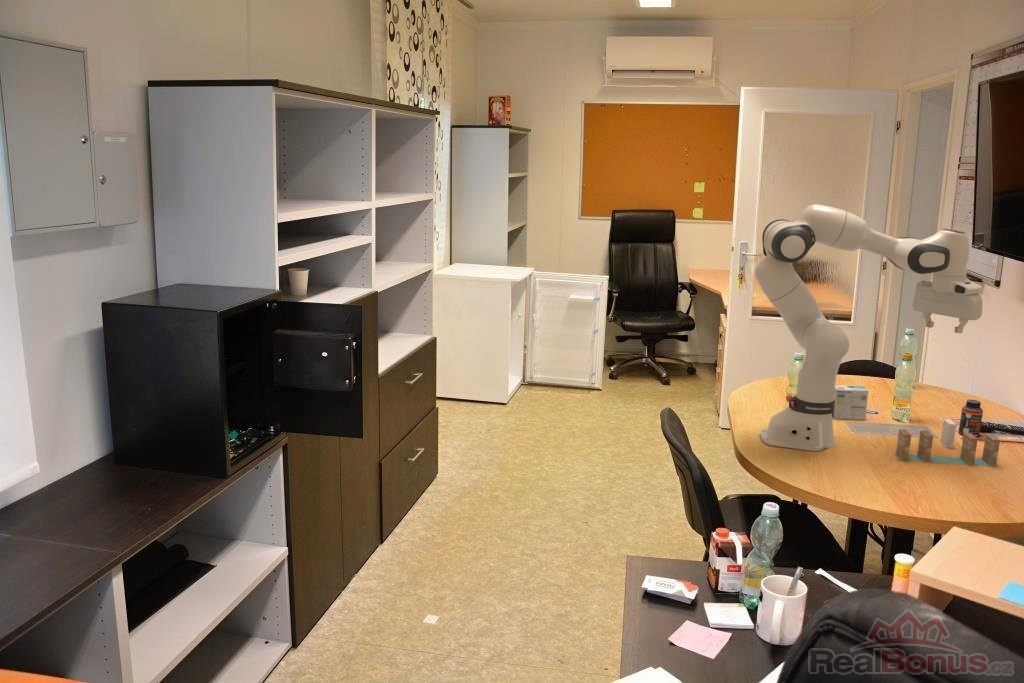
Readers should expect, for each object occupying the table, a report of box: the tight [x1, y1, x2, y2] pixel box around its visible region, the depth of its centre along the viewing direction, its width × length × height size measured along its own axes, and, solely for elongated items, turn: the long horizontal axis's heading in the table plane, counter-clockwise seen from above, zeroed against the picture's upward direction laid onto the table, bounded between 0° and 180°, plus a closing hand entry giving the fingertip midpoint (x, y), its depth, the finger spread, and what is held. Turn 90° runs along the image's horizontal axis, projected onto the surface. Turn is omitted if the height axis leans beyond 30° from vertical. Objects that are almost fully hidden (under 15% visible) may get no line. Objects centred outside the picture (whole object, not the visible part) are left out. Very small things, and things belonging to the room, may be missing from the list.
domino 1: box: [895, 428, 912, 462], centre depth 240 cm, size 2×5×8 cm, turn 170°
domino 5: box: [981, 433, 1001, 467], centre depth 236 cm, size 2×5×8 cm, turn 170°
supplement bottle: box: [958, 398, 984, 436], centre depth 261 cm, size 6×6×11 cm
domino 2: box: [916, 429, 934, 463], centre depth 239 cm, size 2×5×8 cm, turn 171°
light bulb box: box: [833, 384, 869, 421], centre depth 278 cm, size 11×7×11 cm, turn 84°
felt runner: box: [893, 452, 999, 468], centre depth 239 cm, size 27×6×1 cm, turn 80°
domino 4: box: [959, 433, 979, 466], centre depth 237 cm, size 2×5×8 cm, turn 170°
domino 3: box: [940, 418, 957, 449], centre depth 250 cm, size 2×5×8 cm, turn 170°
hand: (943, 330), depth 242 cm, fingers open, 8 cm apart
